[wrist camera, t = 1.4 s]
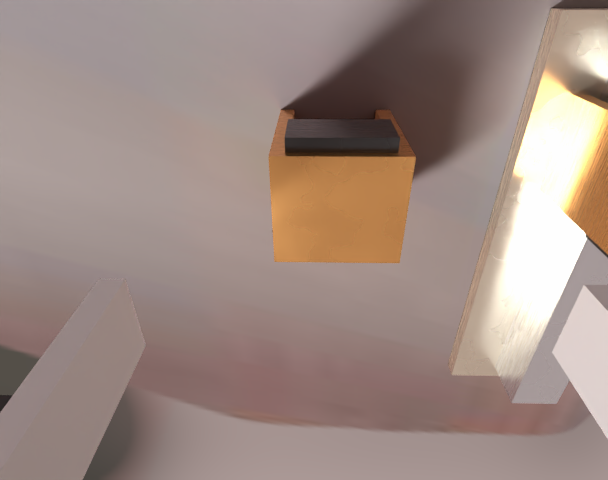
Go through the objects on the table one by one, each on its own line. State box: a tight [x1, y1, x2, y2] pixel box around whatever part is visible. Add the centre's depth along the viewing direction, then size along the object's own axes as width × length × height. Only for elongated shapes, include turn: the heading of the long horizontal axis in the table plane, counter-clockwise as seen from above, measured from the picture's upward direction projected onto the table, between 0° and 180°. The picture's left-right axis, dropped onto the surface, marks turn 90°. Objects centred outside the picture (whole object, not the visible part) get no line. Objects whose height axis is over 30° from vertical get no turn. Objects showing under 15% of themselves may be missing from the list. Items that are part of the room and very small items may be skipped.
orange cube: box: [269, 110, 416, 263], centre depth 19 cm, size 6×6×6 cm
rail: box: [448, 8, 608, 404], centre depth 21 cm, size 24×9×8 cm, turn 0°
